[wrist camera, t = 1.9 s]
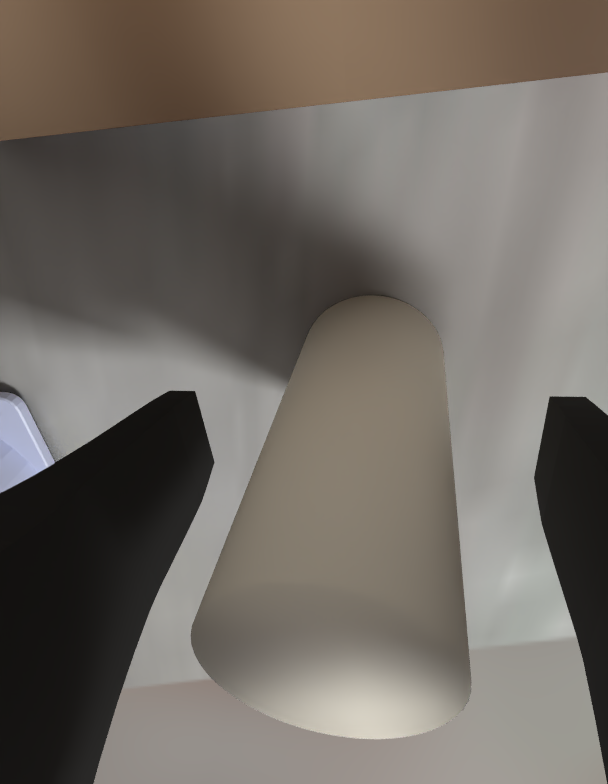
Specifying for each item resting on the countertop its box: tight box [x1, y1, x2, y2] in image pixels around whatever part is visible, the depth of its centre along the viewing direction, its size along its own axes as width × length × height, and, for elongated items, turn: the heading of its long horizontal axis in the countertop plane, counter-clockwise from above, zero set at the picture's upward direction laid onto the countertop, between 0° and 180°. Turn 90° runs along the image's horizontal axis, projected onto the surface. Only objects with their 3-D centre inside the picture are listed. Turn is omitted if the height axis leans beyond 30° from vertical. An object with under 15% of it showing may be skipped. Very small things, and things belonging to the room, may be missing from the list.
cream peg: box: [191, 295, 471, 739], centre depth 10 cm, size 4×4×8 cm
